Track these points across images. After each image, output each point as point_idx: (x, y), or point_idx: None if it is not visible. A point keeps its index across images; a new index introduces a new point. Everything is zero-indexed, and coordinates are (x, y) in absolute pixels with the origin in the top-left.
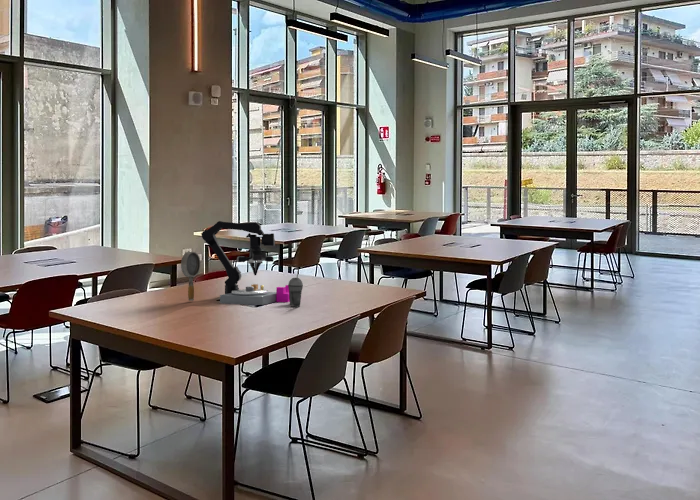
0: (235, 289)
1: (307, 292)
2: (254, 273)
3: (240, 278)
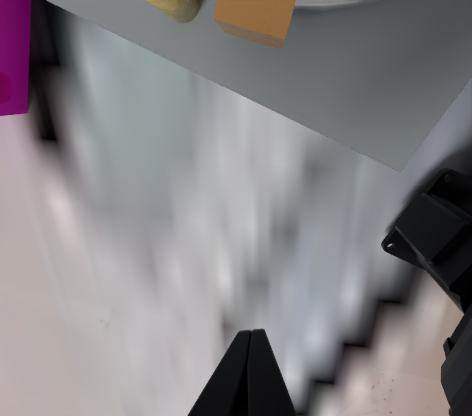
0: (463, 216)
1: (19, 394)
2: (266, 350)
3: (462, 351)
